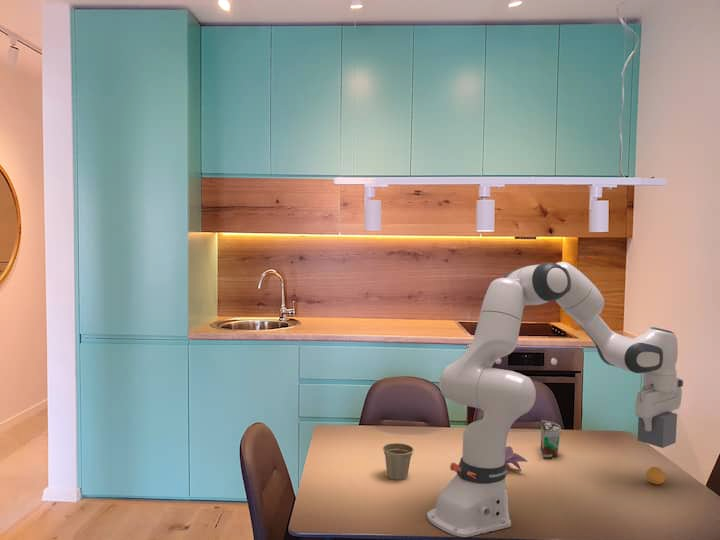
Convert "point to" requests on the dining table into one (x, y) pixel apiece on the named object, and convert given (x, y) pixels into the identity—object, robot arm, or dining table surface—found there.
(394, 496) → the dining table surface
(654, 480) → the ball
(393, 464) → the flower pot
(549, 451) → the food container
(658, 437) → the gray rectangular box
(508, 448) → the lily
